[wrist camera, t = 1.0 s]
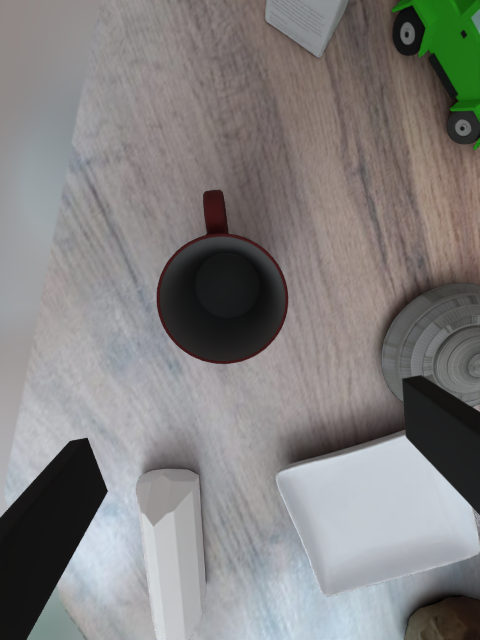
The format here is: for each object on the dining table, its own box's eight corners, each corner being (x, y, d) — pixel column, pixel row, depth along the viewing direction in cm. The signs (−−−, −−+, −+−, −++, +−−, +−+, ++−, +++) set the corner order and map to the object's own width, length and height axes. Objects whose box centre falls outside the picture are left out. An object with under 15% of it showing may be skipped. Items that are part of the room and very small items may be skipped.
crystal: (109, 483, 29) (133, 637, 35) (156, 512, 26) (174, 677, 31) (159, 443, 36) (173, 578, 41) (202, 462, 32) (211, 606, 38)
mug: (176, 215, 27) (137, 186, 16) (263, 207, 27) (282, 173, 16) (192, 329, 30) (167, 369, 19) (271, 322, 30) (291, 358, 19)
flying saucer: (384, 418, 33) (413, 449, 27) (365, 301, 29) (394, 311, 24) (507, 388, 32) (562, 415, 27) (502, 266, 29) (563, 267, 23)
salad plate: (316, 573, 38) (324, 603, 35) (268, 454, 33) (272, 476, 30) (463, 530, 37) (486, 557, 33) (434, 400, 32) (457, 416, 29)
